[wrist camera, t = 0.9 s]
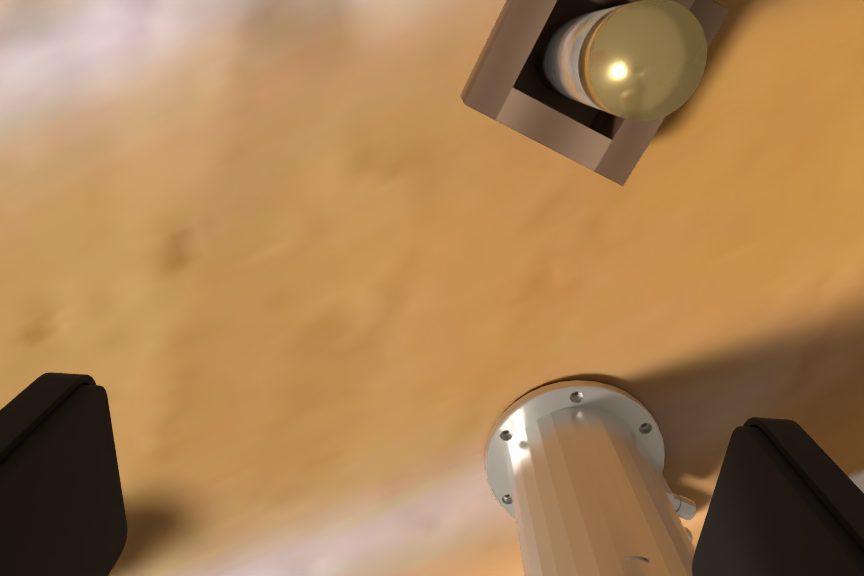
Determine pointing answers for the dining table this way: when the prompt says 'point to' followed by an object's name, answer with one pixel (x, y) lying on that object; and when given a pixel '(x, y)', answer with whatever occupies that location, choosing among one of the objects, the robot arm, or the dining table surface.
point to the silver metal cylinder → (626, 58)
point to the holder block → (550, 112)
